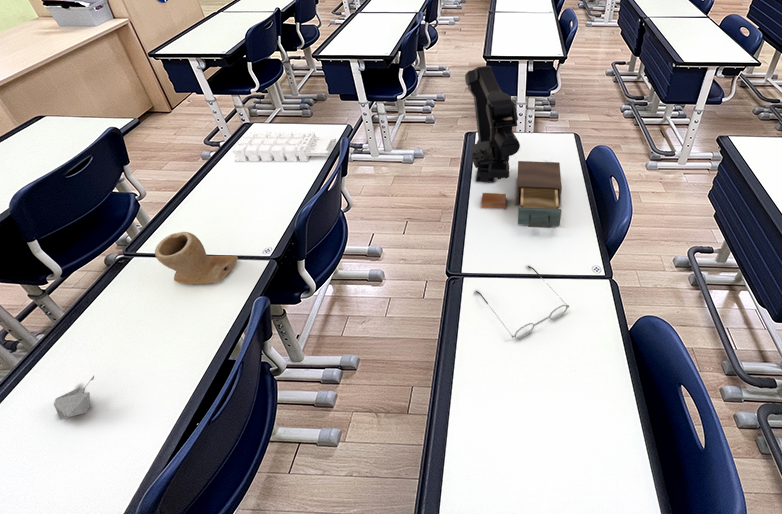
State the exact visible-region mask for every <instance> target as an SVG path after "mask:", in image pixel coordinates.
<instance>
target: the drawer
mask: <svg viewBox="0 0 782 514" xmlns="http://www.w3.org/2000/svg"><path fill="white" fill-rule="evenodd" d="M517 209H518V210H517V225H521V226H522V225H524V226H527V227H528V228H544V229H545V228H546V229H551V228H552V227H560V226H561V220H562V208H560V207H559V203H558V190H557V189H532V188H521V199H520V205H519V207H518V208H517Z"/></svg>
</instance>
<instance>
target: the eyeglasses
mask: <svg viewBox="0 0 782 514" xmlns="http://www.w3.org/2000/svg"><path fill="white" fill-rule="evenodd" d="M527 267H528V269H532V270H533V271H534V272H535V273H536V275H537V276H538V277H539V278H541V279H542V280H544V278H543V277H542V275H540V274H539V273H538V271H537V270H536V269H535V268H534V267H532V266H530V265H528V266H527ZM547 286H548V287H549V288H550V289H551V290H552V291H553V292H554V293H555V294H556V295H558V293H557V292H556V291H555V290H554V289H553V288H552V287H551V286H550V285H549V284H547ZM475 291H476V293H477V294H479V296H481V298H482V299H483V301H484V302H485V303H486V305H488V306H489V308H490V309H491V310H492V312H493V313H494V314H495V315H496V317H497V318H498V320H499V321H500V322H501V324H502V325H503V326H504V328H505V329H506V331H508V333H509V335H510V336H511V338H512V339H514V338H515V339H516V340H519V339H522V338H524V337H526V336H528V335H529V334H530V333H532V331H533V330H534V328H535V327H536V326H538V325H540V324H542V323H543V322H545V321H547V320H549V319H550V320H551V321H552V320H556V319H558V318H560V317H561V316H563V315H564V314H565V313H566V312H567V311H568V309H569V308H570V305H569V304H567V303H566V302H565V301H564V300H563V299H562V298H560V300H561V301H562V302H563V303H565V304H561V305H559V306H557V307H556V308H554V309H553V310H552V311H551V312H550V313H549V315H548V316H547V317H544V318H543V319H541V320H539V321H537V322H536V323H533V322H529V323H526V324H524V325H522V326H521V327H520V328H518V329H517V330H516V331H515V333H514V334H512V333H511V332H510V331H509V329H508V328H507V326H505V323H504V322H503V321H502V320H501V319H500V317H499V316H498V314H496V312H495V311H494V310H493V308H492V307H491V306H490V305H489V302H488V301H487V299H485V297H484V296H483V295H482V293H481V292H479V291H477V290H475ZM563 307H565V309H564V310H563V311H562V313H560V314H559V315H557V316H554V317H552V315H553V314H554V312H556V311H557V310H559V309H561V308H563ZM531 325H532V327H531V329H530V330H529V331H527V332H526V333H525V334H522V335H521V336H517V334H518V333H519V332H520V331H521V330H522V329H524V328H526V327H528V326H531Z"/></svg>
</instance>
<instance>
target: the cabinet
mask: <svg viewBox="0 0 782 514" xmlns="http://www.w3.org/2000/svg"><path fill="white" fill-rule="evenodd" d="M561 175H562V173H561V163H560V162H559V161H555V162H554V161H529V160H528V161H527V160H517V177H516V178H517V179H516V206H520V199H521V188H532V189H557V190H558V203H559V208H560V206H561V199H562V190H563V188H562V177H561Z"/></svg>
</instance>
